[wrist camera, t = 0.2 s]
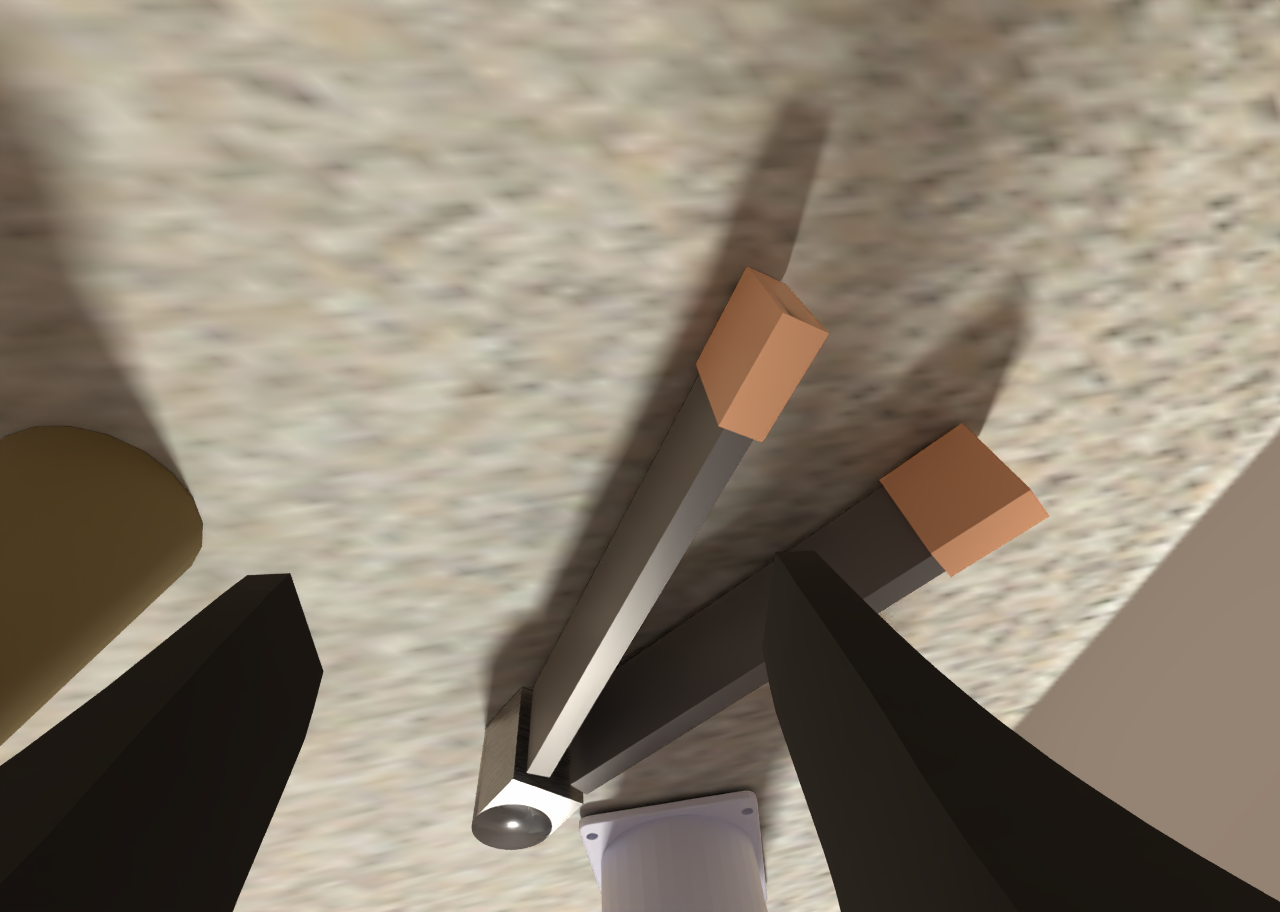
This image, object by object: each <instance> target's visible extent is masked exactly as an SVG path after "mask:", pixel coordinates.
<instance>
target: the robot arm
mask: <svg viewBox="0 0 1280 912" xmlns="http://www.w3.org/2000/svg"><path fill="white" fill-rule="evenodd" d="M762 650H763V655H764V660H765V665H766V670H767V675H768V680H769V684H770V689H771V693H772V697H773V702H774V706H775V711H776V714H777V717H778V720H779V723H780V726H781V729H782V732H783V735H784V738H785V741H786V743H787V746H788V749H789V752H790V755H791V758H792V761H793V764H794V767H795V770H796V773H797V776H798V779H799V781H800V784H801V787H802V790H803V793H804V796H805V799H806V802H807V805H808V807H809V810H810V813H811V816H812V819H813V822H814V825H815V828H816V831H817V834H818V836H819V839H820V842H821V845H822V848H823V851H824V854H825V857H826V860H827V863H828V867H829V870H830V873H831V877H832V880H833V883H834V887H835V890H836V894H837V898H838V902H839V906H840V910H841V912H1280V902H1279V901H1278V900H1276V899H1274V898H1272V897H1271V896H1269V895H1267V894H1265V893H1264V892H1262V891H1260V890H1258V889H1257V888H1255V887H1253V886H1251V885H1250V884H1248V883H1246V882H1244V881H1243V880H1241V879H1239V878H1237V877H1236V876H1234V875H1232V874H1231V873H1229V872H1227V871H1226V870H1224V869H1222V868H1220V867H1219V866H1217V865H1215V864H1214V863H1212V862H1210V861H1208V860H1207V859H1205V858H1203V857H1201V856H1200V855H1198V854H1196V853H1195V852H1193V851H1191V850H1190V849H1188V848H1186V847H1184V846H1183V845H1182V844H1180V843H1178V842H1177V841H1175V840H1173V839H1172V838H1170V837H1169V836H1167V835H1165V834H1164V833H1162V832H1160V831H1159V830H1157V829H1155V828H1154V827H1152V826H1151V825H1149V824H1147V823H1146V822H1144V821H1143V820H1141V819H1140V818H1138V817H1137V816H1135V815H1134V814H1132V813H1130V812H1129V811H1127V810H1126V809H1124V808H1123V807H1121V806H1120V805H1118V804H1117V803H1115V802H1114V801H1112V800H1111V799H1109V798H1108V797H1106V796H1104V795H1103V794H1101V793H1100V792H1098V791H1097V790H1095V789H1094V788H1092V787H1091V786H1089V785H1088V784H1086V783H1085V782H1083V781H1082V780H1080V779H1079V778H1077V777H1076V776H1075V775H1073V774H1072V773H1070V772H1069V771H1068V770H1066V769H1064V768H1063V767H1062V766H1060V765H1059V764H1057V763H1056V762H1055V761H1053V760H1052V759H1050V758H1049V757H1048V756H1046V755H1045V754H1044V753H1042V752H1041V751H1040V750H1038V749H1037V748H1036V747H1034V746H1033V745H1032V744H1030V743H1029V742H1027V741H1026V740H1025V739H1023V738H1022V737H1021V736H1019V735H1018V734H1017V733H1015V732H1014V731H1013V730H1011V729H1010V728H1009V727H1007V726H1006V725H1005V724H1003V723H1002V722H1001V721H999V720H998V719H997V718H996V717H994V716H993V715H992V714H991V713H989V712H988V711H987V710H986V709H984V708H983V707H982V706H980V705H979V704H978V703H977V702H976V701H974V700H973V699H972V698H971V697H970V696H968V695H967V694H966V693H965V692H964V691H963V690H961V689H960V688H959V687H958V686H957V685H955V684H954V683H953V682H952V681H951V680H949V679H948V678H947V677H946V676H945V675H944V674H942V673H941V672H940V671H939V670H938V669H937V668H935V667H934V666H933V665H932V664H931V663H930V662H929V661H928V660H926V659H925V658H924V657H923V656H922V655H921V654H920V653H919V652H918V651H917V650H915V649H914V648H913V647H912V646H911V645H910V644H909V643H908V642H907V641H906V640H905V639H904V638H903V637H902V636H900V635H899V634H898V633H897V632H896V631H895V630H894V629H893V628H892V627H891V626H890V625H889V624H888V623H887V622H886V621H885V620H884V619H883V618H882V617H880V616H879V615H878V614H877V613H876V612H875V611H874V610H873V609H872V608H871V607H870V606H869V605H868V604H867V603H866V602H865V601H864V600H863V599H862V598H861V597H860V596H859V595H858V594H857V593H856V592H855V591H854V590H853V589H852V588H851V587H850V586H849V585H848V584H847V583H846V582H845V581H844V580H843V579H842V578H841V577H840V576H839V575H838V574H837V573H836V572H835V571H834V570H833V569H832V568H831V567H830V566H829V565H828V564H827V563H826V562H825V561H824V560H823V559H822V558H821V557H820V556H819V555H818V554H817V553H816V552H815V551H791V552H775V557H774V564H773V571H772V579H771V586H770V593H769V601H768V608H767V615H766V623H765V630H764V638H763V645H762ZM322 675H323V669H322V666H321V663H320V660H319V657H318V654H317V651H316V648H315V645H314V642H313V639H312V636H311V633H310V630H309V627H308V624H307V621H306V618H305V615H304V612H303V610H302V607H301V604H300V601H299V598H298V595H297V592H296V589H295V586H294V583H293V580H292V577H291V574H290V573H286V574H264V575H247V576H246V577H244V578H243V579H242V580H240V581H239V582H237V583H236V584H235V585H233V586H232V587H231V588H230V589H228V590H227V591H226V592H224V593H223V594H222V595H221V596H219V597H218V598H217V599H216V600H214V601H213V602H212V603H211V604H209V605H208V606H207V607H206V608H204V609H203V610H202V611H201V612H199V613H198V614H197V615H196V616H195V617H193V618H192V619H191V620H190V621H188V622H187V623H186V624H185V625H183V626H182V627H181V628H180V629H179V630H177V631H176V632H175V633H174V634H172V635H171V636H170V637H169V638H168V639H166V640H165V641H164V642H163V643H161V644H160V645H159V646H158V647H156V648H155V649H154V650H153V651H151V652H150V653H149V654H148V655H146V656H145V657H144V658H143V659H141V660H140V661H139V662H138V663H136V664H135V665H134V666H133V667H131V668H130V669H129V670H128V671H126V672H125V673H124V674H123V675H121V676H120V677H119V678H118V679H116V680H115V681H114V682H113V683H111V684H110V685H109V686H107V687H106V688H105V689H104V690H102V691H101V692H100V693H98V694H97V695H96V696H94V697H93V698H92V699H90V700H89V701H88V702H86V703H85V704H84V705H82V706H81V707H80V708H78V709H77V710H76V711H74V712H73V713H72V714H70V715H69V716H67V717H66V718H65V719H63V720H62V721H61V722H59V723H58V724H57V725H55V726H54V727H53V728H51V729H50V730H49V731H47V732H46V733H45V734H43V735H42V736H41V737H39V738H38V739H37V740H35V741H34V742H33V743H31V744H30V745H29V746H27V747H26V748H25V749H23V750H22V751H21V752H19V753H18V754H16V755H15V756H14V757H12V758H11V759H9V760H8V761H7V762H5V763H4V764H2V765H1V766H0V912H233V910H234V907H235V905H236V902H237V899H238V897H239V895H240V892H241V890H242V888H243V885H244V883H245V880H246V878H247V876H248V873H249V871H250V869H251V866H252V864H253V862H254V859H255V857H256V855H257V852H258V850H259V847H260V845H261V843H262V840H263V838H264V836H265V833H266V831H267V829H268V826H269V824H270V822H271V819H272V817H273V814H274V812H275V810H276V807H277V805H278V803H279V800H280V798H281V796H282V793H283V791H284V788H285V786H286V784H287V781H288V779H289V776H290V774H291V772H292V769H293V767H294V764H295V762H296V759H297V757H298V755H299V752H300V750H301V747H302V745H303V742H304V740H305V737H306V733H307V730H308V727H309V723H310V720H311V716H312V713H313V709H314V706H315V702H316V698H317V694H318V690H319V687H320V683H321V679H322ZM579 832H580V835H581V838H582V841H583V843H584V846H585V849H586V852H587V855H588V858H589V860H590V863H591V866H592V869H593V872H594V874H595V877H596V880H597V883H598V886H599V889H600V891H601V894H602V912H768V911H767V907H766V901H767V892H766V882H765V872H764V862H763V852H762V843H761V833H760V823H759V813H758V803H757V798H756V795H755V793H753V792H752V791H739V792H733V793H727V794H720V795H714V796H708V797H702V798H696V799H689V800H683V801H677V802H671V803H665V804H658V805H652V806H646V807H640V808H634V809H627V810H621V811H615V812H609V813H603V814H596V815H590V816H586V817H584V818H582V819H581V820H580V821H579Z"/></svg>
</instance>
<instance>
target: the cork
mask: <svg viewBox="0 0 1280 912" xmlns="http://www.w3.org/2000/svg"><path fill="white" fill-rule="evenodd" d="M202 526H203V523H202V521H201V518H200V516H199V513H198V511H197V508H196V505H195V503H194V500H193V498H192V497H191V496H190V494H189V493H188V492H187V491H186V489H185V488H184V487H183V486H182V484H181V483H180V482H179V481H178V479H177V478H176V477H175V476H174V474H173V473H171V472H170V471H169V470H167V469H166V468H165V467H164V466H162V465H161V464H160V463H158V462H157V461H156V460H154V459H153V458H152V457H150V456H149V455H148V454H146V453H145V452H144V451H142V450H139V449H137V448H135V447H133V446H131V445H129V444H126V443H124V442H122V441H120V440H118V439H116V438H114V437H111V436H109V435H106V434H101V433H97V432H93V431H88V430H84V429H79V428H75V427H71V426H64V427H32V428H29V429H26V430H23V431H20V432H17V433H14V434H11V435H8V436H5V437H4V438H2V439H1V440H0V746H1V745H2V744H3V743H4V742H5V741H6V740H7V739H8V738H9V737H10V736H12V735H13V734H14V733H15V732H16V731H17V730H18V729H19V728H20V727H21V726H22V725H23V724H24V723H25V722H26V721H27V720H29V719H30V718H31V717H32V716H33V715H34V714H35V713H36V712H37V711H38V710H39V709H40V708H41V707H42V706H43V705H44V704H45V703H47V702H48V701H49V700H50V699H51V698H52V697H53V696H54V695H55V694H56V693H57V692H58V691H59V690H60V689H61V688H62V687H63V686H65V685H66V684H67V683H68V682H69V681H70V680H71V679H72V678H73V677H74V676H75V675H76V674H77V673H78V672H79V671H80V670H82V669H83V668H84V667H85V666H86V665H87V664H88V663H89V662H90V661H91V660H92V659H93V658H94V657H95V656H96V655H97V654H98V653H100V652H101V651H102V650H103V649H104V648H105V647H106V646H107V645H108V644H109V643H110V642H111V641H112V640H113V639H114V638H115V637H116V636H118V635H119V634H120V633H121V632H122V631H123V630H124V629H125V628H126V627H127V626H128V625H129V624H130V623H131V622H132V621H133V620H134V619H136V618H137V617H138V616H139V615H140V614H141V613H142V612H143V611H144V610H145V609H146V608H147V607H148V606H149V605H150V604H151V603H153V602H154V601H155V600H156V599H157V598H158V597H159V596H160V595H161V594H162V593H163V592H164V591H165V590H166V589H167V588H168V587H169V586H171V585H172V584H173V583H174V582H175V581H176V580H177V579H178V578H179V577H180V576H181V575H182V574H183V573H184V572H185V571H186V570H187V569H189V568H190V567H191V565H192V564H193V562H194V560H195V558H196V556H197V555H198V553H199V551H200V549H201V547H202Z"/></svg>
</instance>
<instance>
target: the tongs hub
mask: <svg viewBox="0 0 1280 912" xmlns="http://www.w3.org/2000/svg"><path fill="white" fill-rule="evenodd" d="M532 695H533V691H531V690H528V689H526V688H523V687H521V688H520V689H519V690H518V692H517V693H516V694H515V695H514V696H513V697H512V698H511V699H510V700H509V702H508V703H507V704H506V705H505V706H504V707H503V708H502V709H501V710H500V712H499V713H498V714H497V715H496V716H495V717H494V718H493V719H492V720H491V722H490V723H489V724H488V725H487V727H486V730H485V736H484V743H483V750H482V757H481V764H480V771H479V779H478V786H477V793H476V800H475V807H474V814H473V821H472V832H473V834H474V836H475V837H476V838H477V839H478V840H479V841H480V842H482V843H483V844H485V845H488V846H490V847H494V848H498V849H505V850H516V849H524V848H528V847H531V846H534V845H536V844H539V843H540V842H542V841H543V840H545V839H546V838H547V837H548V836H549V835H550V834H551V833H552V832H553V831H555V830H556V829H557V828H558V827H559V826H560V825H561V824H562V823H563V822H564V821H565V820H566V819H568V818H569V817H570V816H571V815H572V814H573V813H574V812H575V811H576V810H577V809H578V808H579V807H581V806H582V805H583V792H582V791H580V790H578V789H577V788H575V787H573V786H571V785H570V777H571V743H570V744H569V746H568V748H567V749H566V751H565V752H564V754H563V756H562V757H561V759H560V761H559V762H558V764H557V766H556V767H555V769H554V771H553V772H552V774H551V776H550V777H545V776H540V775H535V774H530V773H527V761H528V748H529V735H530V721H531V708H532Z"/></svg>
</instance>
